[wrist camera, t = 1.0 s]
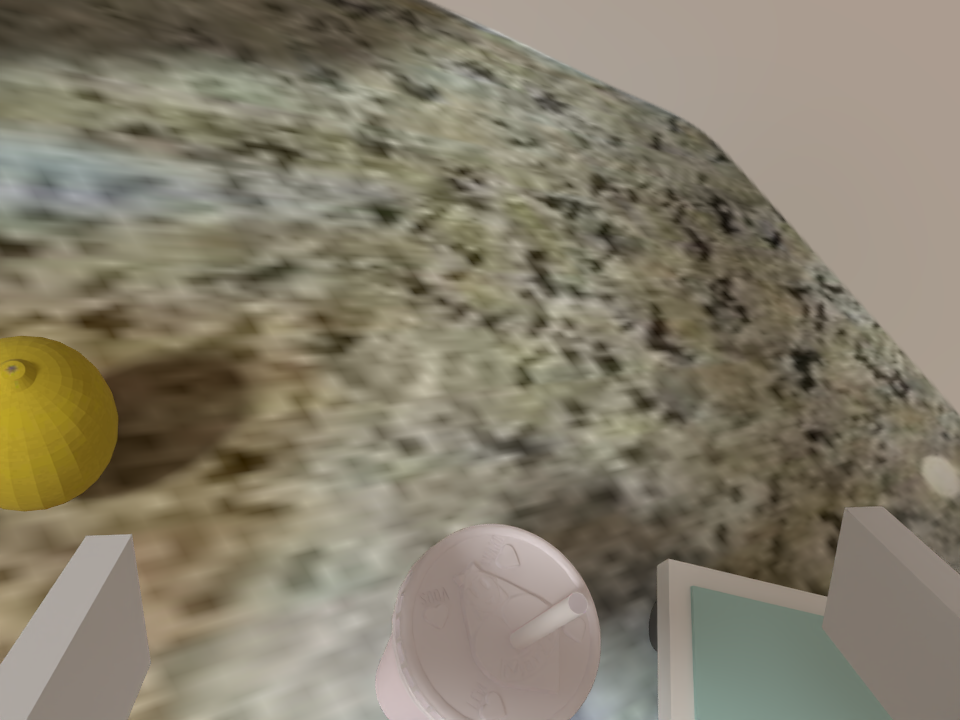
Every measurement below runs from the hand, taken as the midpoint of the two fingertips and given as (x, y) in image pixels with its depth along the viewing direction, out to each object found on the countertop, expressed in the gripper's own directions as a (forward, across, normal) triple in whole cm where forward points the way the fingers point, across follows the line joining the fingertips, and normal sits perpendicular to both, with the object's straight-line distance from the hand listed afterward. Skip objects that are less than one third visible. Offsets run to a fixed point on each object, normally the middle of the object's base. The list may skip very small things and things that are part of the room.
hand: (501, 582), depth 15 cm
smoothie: (+13, -1, -14) cm, 19 cm away
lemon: (+17, -16, -6) cm, 24 cm away
